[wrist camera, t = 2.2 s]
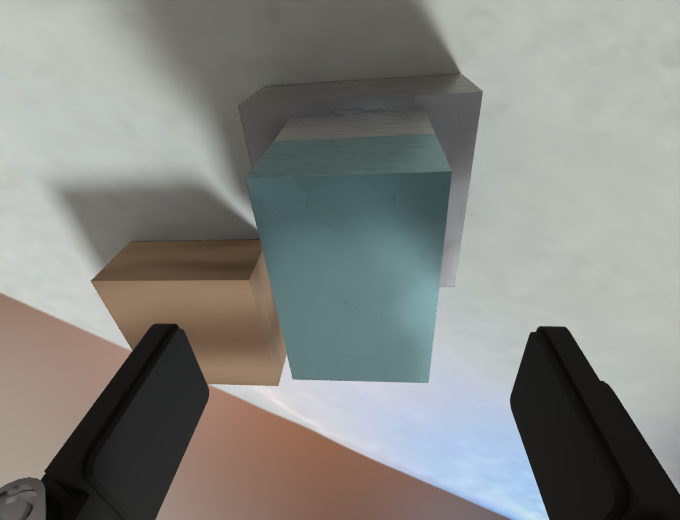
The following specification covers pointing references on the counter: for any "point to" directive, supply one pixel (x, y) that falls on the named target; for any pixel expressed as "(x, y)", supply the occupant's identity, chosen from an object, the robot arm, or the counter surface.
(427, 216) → the teal and grey block
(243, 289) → the stand
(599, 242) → the counter surface
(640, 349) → the counter surface
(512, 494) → the counter surface
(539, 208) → the counter surface
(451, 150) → the stand
